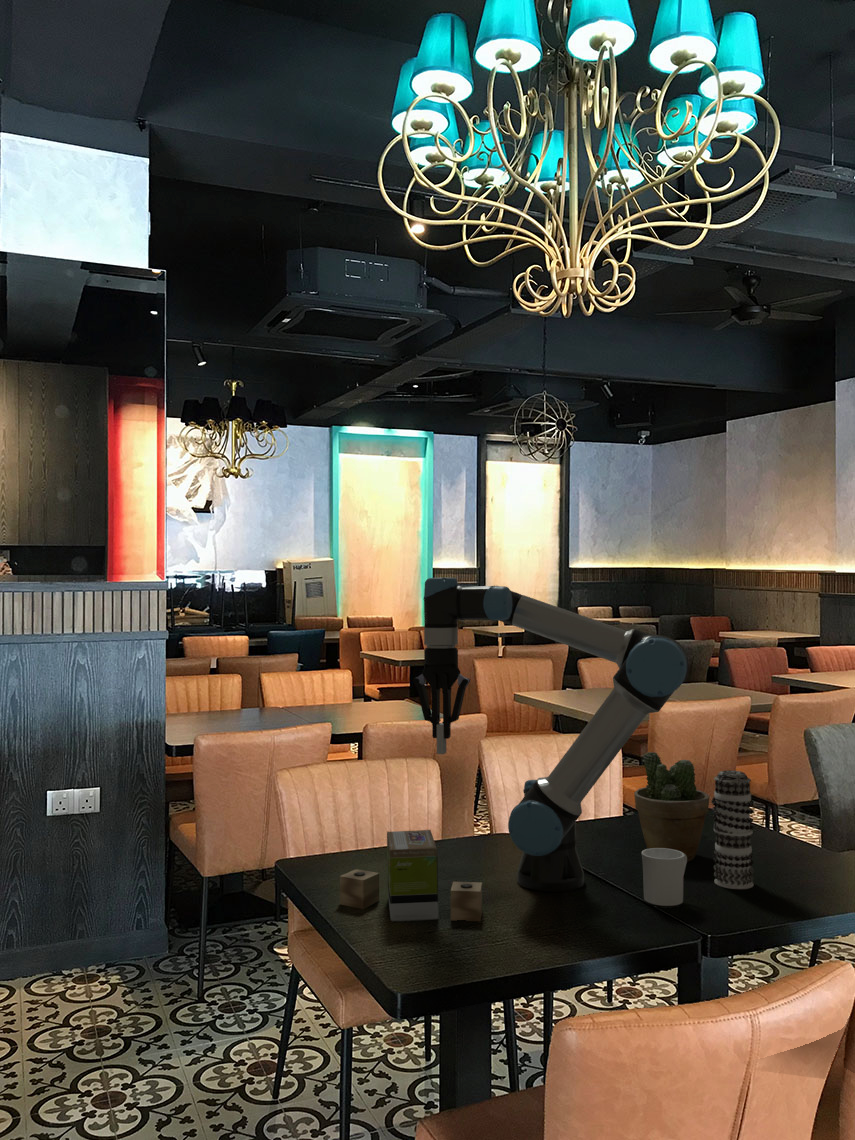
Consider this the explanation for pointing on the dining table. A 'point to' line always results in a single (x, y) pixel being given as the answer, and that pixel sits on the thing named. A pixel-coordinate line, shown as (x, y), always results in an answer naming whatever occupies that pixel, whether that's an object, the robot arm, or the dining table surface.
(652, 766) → the potted plant
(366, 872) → the oak block
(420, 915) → the tea box
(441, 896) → the dining table surface
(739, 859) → the decorative candle
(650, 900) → the mug
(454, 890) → the oak block
